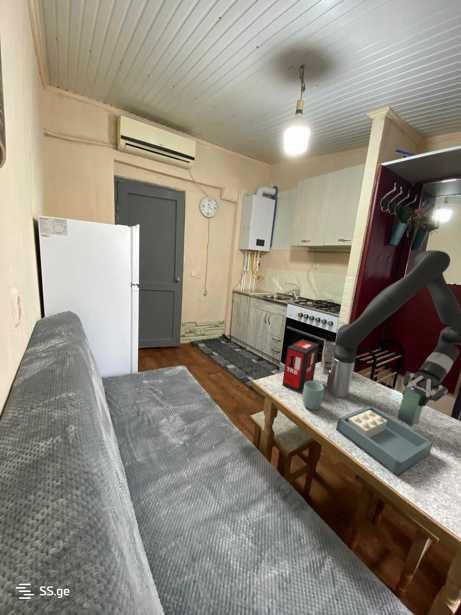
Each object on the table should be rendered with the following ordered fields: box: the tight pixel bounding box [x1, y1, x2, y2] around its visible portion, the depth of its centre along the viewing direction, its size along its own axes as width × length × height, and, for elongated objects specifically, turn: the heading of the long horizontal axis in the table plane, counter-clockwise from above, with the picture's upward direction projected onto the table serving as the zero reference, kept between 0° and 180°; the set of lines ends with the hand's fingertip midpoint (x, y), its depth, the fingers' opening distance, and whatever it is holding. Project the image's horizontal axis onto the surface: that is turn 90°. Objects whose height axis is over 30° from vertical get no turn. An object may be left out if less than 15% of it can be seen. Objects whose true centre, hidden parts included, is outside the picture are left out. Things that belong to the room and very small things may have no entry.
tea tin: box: [396, 386, 426, 427], centre depth 95 cm, size 5×5×13 cm
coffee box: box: [320, 340, 336, 375], centre depth 141 cm, size 9×6×16 cm
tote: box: [335, 405, 434, 477], centre depth 90 cm, size 22×20×5 cm
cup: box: [302, 380, 325, 411], centre depth 107 cm, size 8×8×10 cm
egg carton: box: [348, 410, 387, 438], centre depth 94 cm, size 7×13×5 cm, turn 119°
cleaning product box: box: [281, 339, 320, 394], centre depth 124 cm, size 16×9×20 cm, turn 141°
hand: (412, 401), depth 95 cm, fingers closed on tea tin, 5 cm apart
